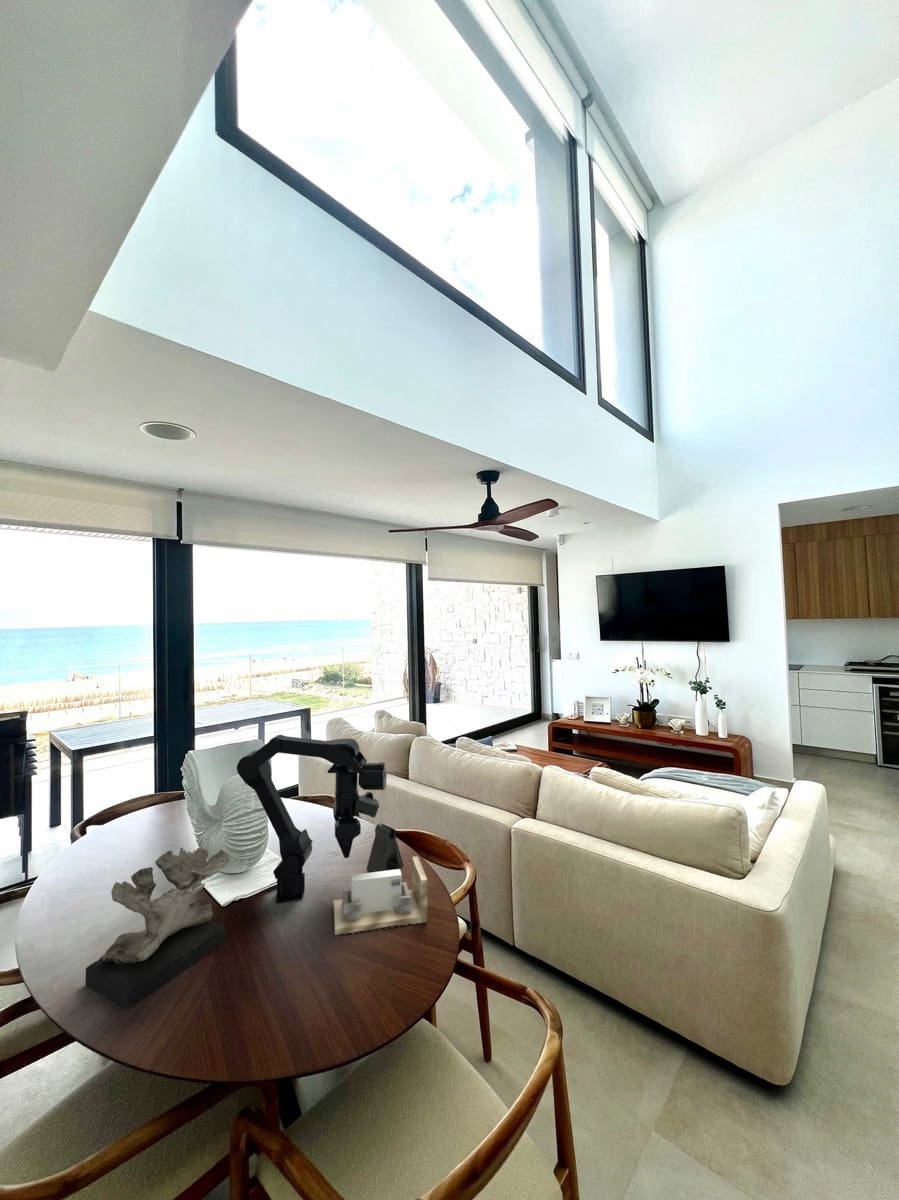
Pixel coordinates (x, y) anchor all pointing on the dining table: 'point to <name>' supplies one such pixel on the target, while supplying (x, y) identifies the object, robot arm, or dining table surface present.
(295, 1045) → the dining table surface
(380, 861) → the door stopper
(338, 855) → the dining table surface
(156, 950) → the coral
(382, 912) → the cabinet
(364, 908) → the door
